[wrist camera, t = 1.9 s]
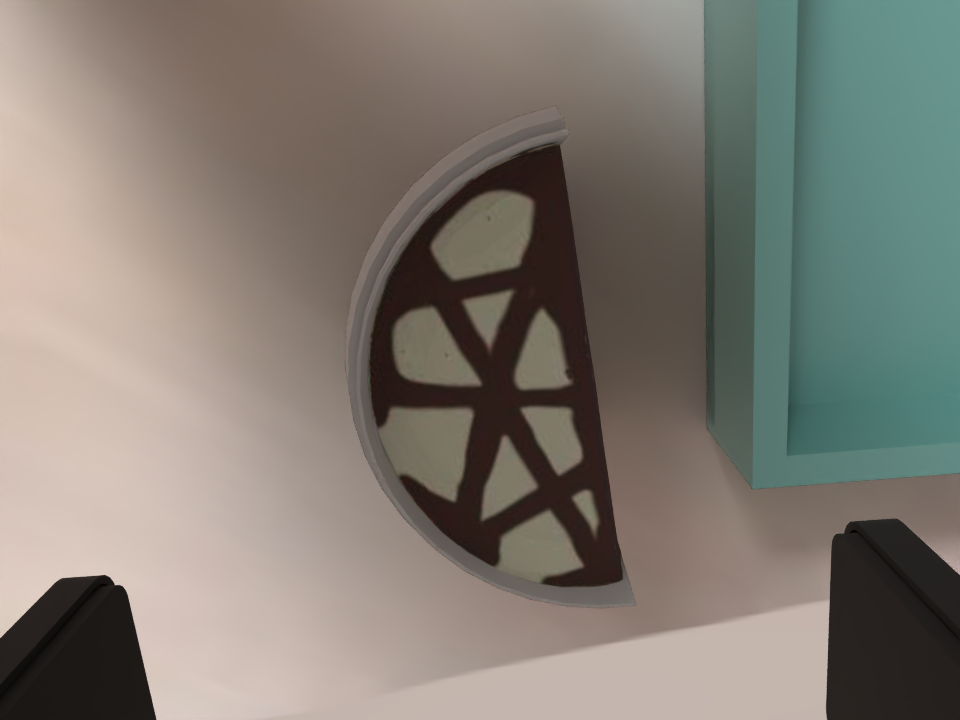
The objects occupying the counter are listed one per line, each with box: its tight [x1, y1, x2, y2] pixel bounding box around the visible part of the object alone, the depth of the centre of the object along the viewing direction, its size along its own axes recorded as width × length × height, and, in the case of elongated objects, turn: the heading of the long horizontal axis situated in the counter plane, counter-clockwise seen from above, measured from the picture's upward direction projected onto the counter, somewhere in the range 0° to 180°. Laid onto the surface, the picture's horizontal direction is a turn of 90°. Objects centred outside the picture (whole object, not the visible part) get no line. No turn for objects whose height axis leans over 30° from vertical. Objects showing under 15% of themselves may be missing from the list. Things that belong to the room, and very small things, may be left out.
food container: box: [345, 106, 636, 608], centre depth 23 cm, size 12×6×10 cm, turn 10°
